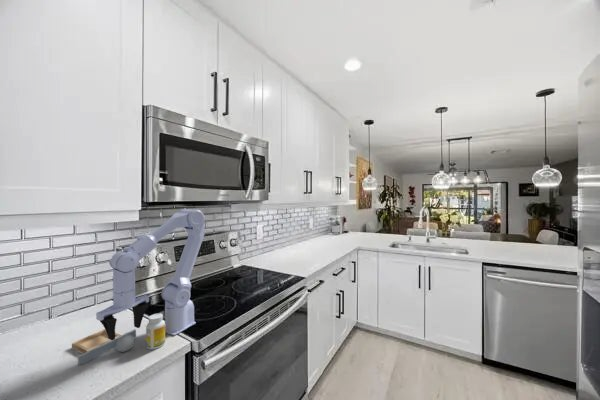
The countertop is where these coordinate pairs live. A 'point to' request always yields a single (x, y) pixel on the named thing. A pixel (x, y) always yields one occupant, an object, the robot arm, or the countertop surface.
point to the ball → (125, 342)
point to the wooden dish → (92, 341)
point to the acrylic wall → (101, 349)
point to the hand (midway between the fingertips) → (125, 332)
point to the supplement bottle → (155, 331)
